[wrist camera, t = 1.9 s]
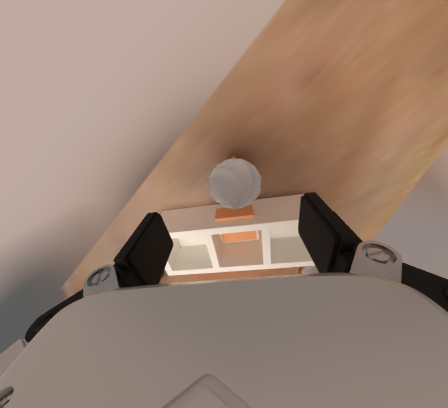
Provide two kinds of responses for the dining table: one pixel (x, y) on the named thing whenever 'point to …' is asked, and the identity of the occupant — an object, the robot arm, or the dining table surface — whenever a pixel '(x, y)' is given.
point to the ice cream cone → (234, 183)
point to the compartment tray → (236, 237)
